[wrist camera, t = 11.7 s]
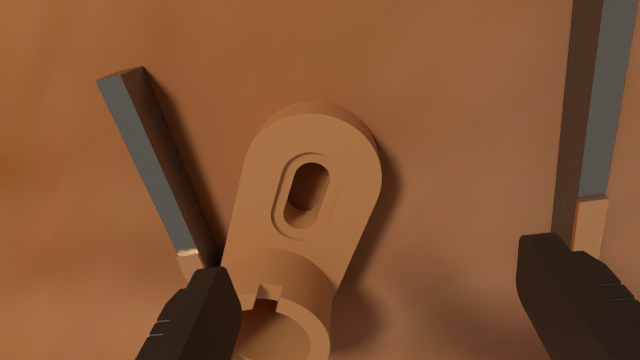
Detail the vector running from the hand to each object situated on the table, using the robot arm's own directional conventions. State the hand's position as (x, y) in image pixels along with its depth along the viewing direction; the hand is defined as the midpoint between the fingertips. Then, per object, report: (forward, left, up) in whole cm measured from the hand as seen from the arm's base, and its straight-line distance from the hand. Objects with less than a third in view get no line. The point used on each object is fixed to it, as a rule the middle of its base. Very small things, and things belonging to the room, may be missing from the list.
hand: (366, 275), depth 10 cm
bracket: (+7, -5, -15) cm, 17 cm away
